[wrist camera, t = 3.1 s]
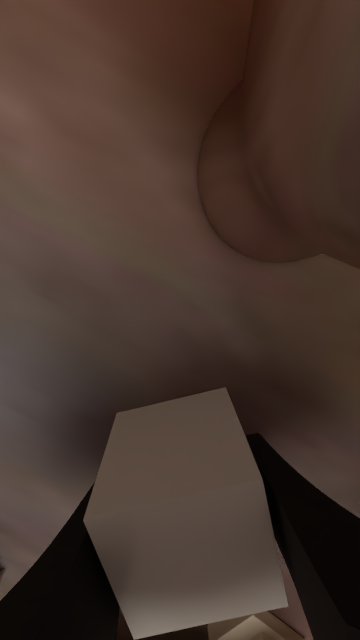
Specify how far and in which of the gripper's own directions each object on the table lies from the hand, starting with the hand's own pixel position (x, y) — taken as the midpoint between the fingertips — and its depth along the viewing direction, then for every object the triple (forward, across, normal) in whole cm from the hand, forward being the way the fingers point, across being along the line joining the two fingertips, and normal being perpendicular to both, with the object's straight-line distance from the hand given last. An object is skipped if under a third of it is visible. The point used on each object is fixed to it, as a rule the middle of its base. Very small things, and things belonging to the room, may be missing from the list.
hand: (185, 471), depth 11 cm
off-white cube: (+2, 0, 0) cm, 2 cm away
